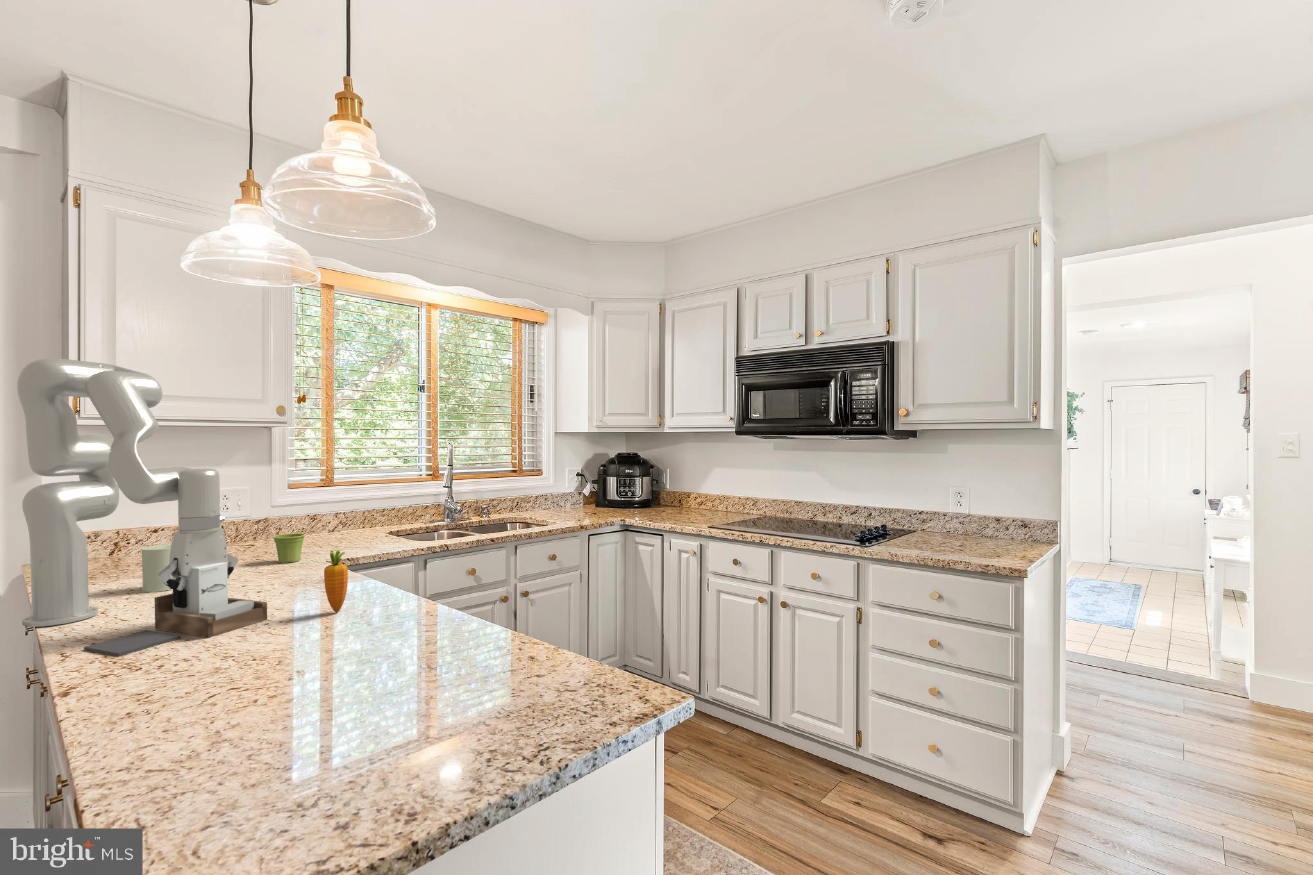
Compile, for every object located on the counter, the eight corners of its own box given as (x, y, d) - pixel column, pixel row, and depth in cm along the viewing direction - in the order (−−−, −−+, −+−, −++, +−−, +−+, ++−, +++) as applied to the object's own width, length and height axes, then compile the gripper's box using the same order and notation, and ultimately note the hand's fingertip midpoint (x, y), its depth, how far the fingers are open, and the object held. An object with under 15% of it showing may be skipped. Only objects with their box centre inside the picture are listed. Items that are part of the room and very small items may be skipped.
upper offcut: (200, 624, 132) (199, 612, 132) (239, 611, 141) (239, 600, 141) (215, 625, 131) (215, 613, 131) (254, 612, 141) (253, 601, 141)
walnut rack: (155, 629, 135) (154, 597, 135) (216, 612, 147) (215, 583, 147) (208, 637, 129) (207, 604, 129) (267, 619, 141) (266, 588, 141)
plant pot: (287, 558, 211) (286, 532, 211) (312, 558, 210) (311, 533, 210) (266, 564, 202) (265, 537, 202) (292, 564, 201) (292, 537, 201)
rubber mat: (83, 649, 123) (83, 646, 123) (146, 632, 133) (146, 629, 133) (118, 656, 119) (118, 653, 119) (180, 638, 129) (180, 635, 129)
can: (166, 592, 167) (165, 547, 167) (132, 592, 168) (131, 548, 167) (192, 583, 177) (191, 541, 176) (160, 584, 177) (159, 542, 177)
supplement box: (198, 626, 135) (197, 568, 135) (171, 625, 136) (170, 567, 136) (229, 617, 142) (228, 561, 142) (203, 615, 144) (202, 561, 144)
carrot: (325, 611, 147) (324, 548, 147) (349, 608, 149) (348, 546, 149) (323, 617, 142) (322, 551, 142) (348, 614, 144) (346, 549, 144)
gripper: (226, 518, 148) (227, 591, 149) (145, 529, 132) (146, 611, 132) (249, 519, 146) (249, 594, 146) (168, 530, 129) (169, 614, 130)
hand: (200, 601), depth 139 cm, fingers closed on supplement box, 7 cm apart
